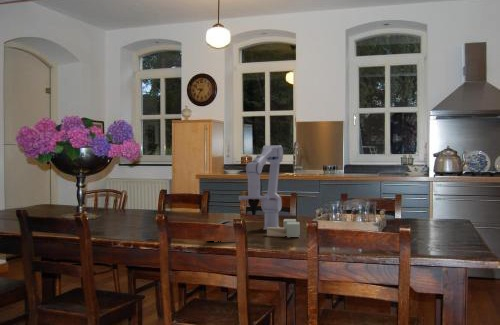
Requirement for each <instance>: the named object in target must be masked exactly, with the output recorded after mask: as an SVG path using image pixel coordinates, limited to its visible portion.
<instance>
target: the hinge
mask: <svg viewBox="0 0 500 325" xmlns="http://www.w3.org/2000/svg"><path fill="white" fill-rule="evenodd" d="M233 223H234V222H232V221H230V220H222V221H219V222H218V223H217V224H224V225H233Z"/></svg>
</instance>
